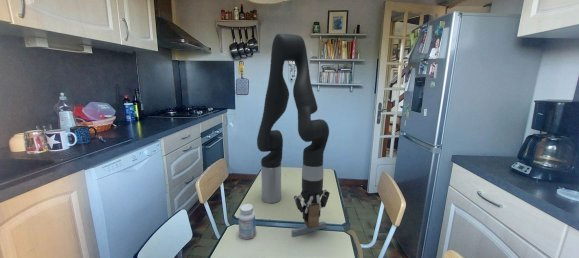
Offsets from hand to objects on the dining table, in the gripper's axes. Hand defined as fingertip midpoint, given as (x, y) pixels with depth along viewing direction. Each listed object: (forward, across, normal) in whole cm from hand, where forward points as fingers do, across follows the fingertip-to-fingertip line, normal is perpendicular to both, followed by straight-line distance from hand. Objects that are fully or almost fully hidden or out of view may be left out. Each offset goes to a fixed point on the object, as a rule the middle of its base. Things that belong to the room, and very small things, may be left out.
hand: (311, 219), depth 90 cm
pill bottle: (+6, +22, -9) cm, 24 cm away
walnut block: (+2, 0, 0) cm, 2 cm away
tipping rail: (+6, 0, -2) cm, 6 cm away
